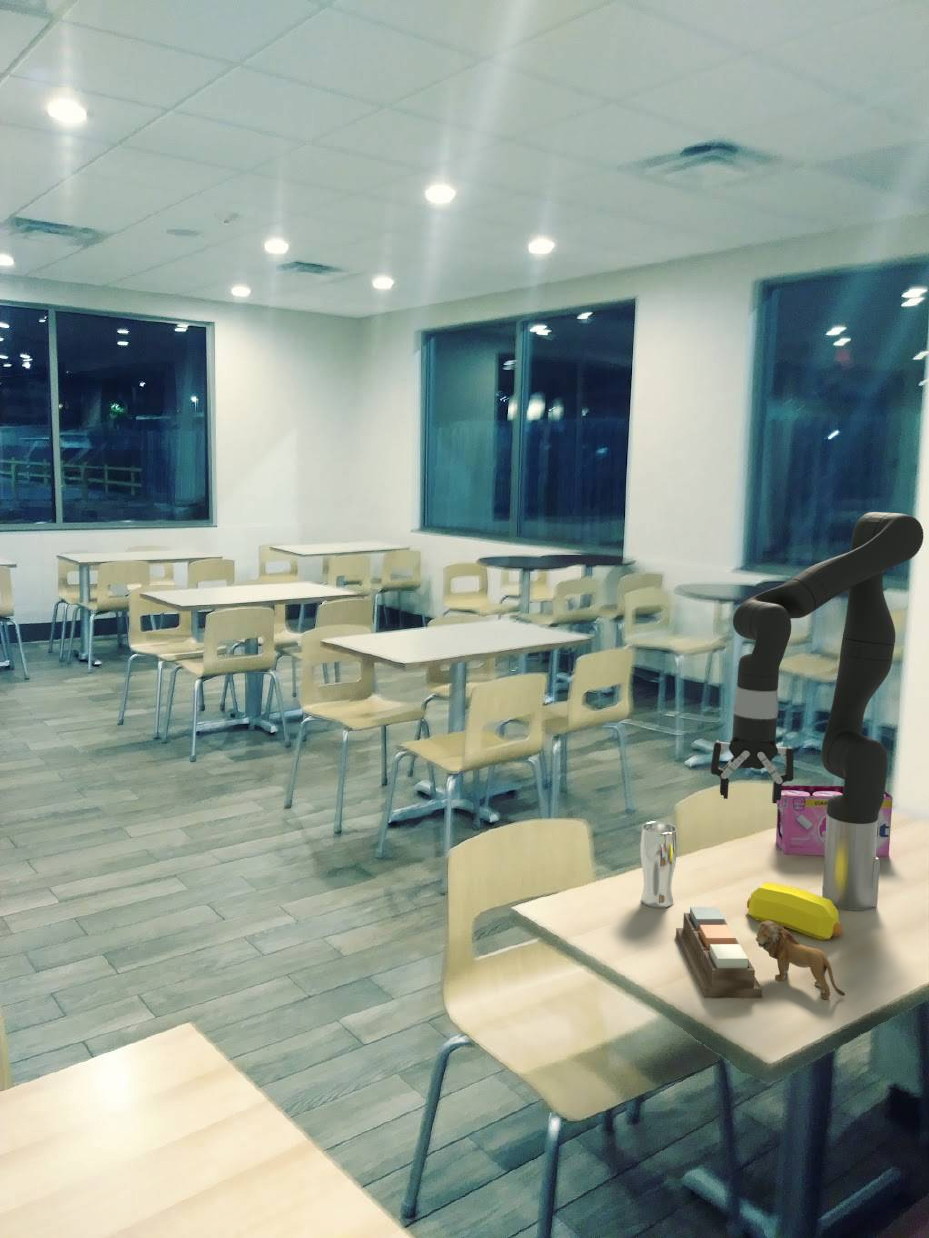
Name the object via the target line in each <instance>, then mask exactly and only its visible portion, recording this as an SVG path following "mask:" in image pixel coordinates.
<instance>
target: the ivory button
mask: <svg viewBox="0 0 929 1238" xmlns="http://www.w3.org/2000/svg"><path fill="white" fill-rule="evenodd" d="M710 958H711V960H712V962H713V964H714V966H715V968H748V960H749V958H748V956H747V955H746V953H745V951H744V949H743V948H742V946H741V944H740V943H739V944H710Z"/></svg>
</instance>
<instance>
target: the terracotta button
mask: <svg viewBox="0 0 929 1238" xmlns="http://www.w3.org/2000/svg"><path fill="white" fill-rule="evenodd" d="M734 934H735V933H733V931H732V930H731V928H730V926H729V924H728V925H700V930H699V937H700V939H701V941H702V943H703V945H704V946H705V947H710V944H735V941H736V939H737V937H736V936H735V935H734Z"/></svg>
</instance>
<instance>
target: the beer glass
mask: <svg viewBox="0 0 929 1238" xmlns="http://www.w3.org/2000/svg"><path fill="white" fill-rule="evenodd" d="M640 835H641V836H640V837H641V838H640V846H639V847H640V848H639V849H640V851H639V852H640V853H639V855H640V862H641V868H642V875H643V889H642V894H641V902H642V903H643V904H644V905H646V906H648V907H651V908H655V909H656V908H657V909H662V908H663V909H664V908H668V907H671V906H672V905H673V904H674V897H673V890H672V888H673V884H672V883H673V876H674V872H675V868H676V865H677V864H676V863H677V857H678V834H677V826H675V825H674V824H672V823H669V822H664V821H649V822H645V823H643V824H642V826H641V834H640Z"/></svg>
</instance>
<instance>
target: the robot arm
mask: <svg viewBox="0 0 929 1238" xmlns="http://www.w3.org/2000/svg"><path fill="white" fill-rule="evenodd" d="M851 537H852V538H851V544H850V545H851V546H850V551H849V552H846V553H842V554H840V555H838V556H834V557H832V558H829V559H825V560H824V561H821V562H818V563H816V564H814V565H811V566H809V567H808V568H806V569H804V570H802V571H801V572H799V573H798V574H796V575H795V576H793V577H792V578H790V579H788V580H786V582H784V583H783V584H782V585H778V586H776V587H773V588H770V589H767V590H765V591H763V592H760V593H759V594H756V595H753V596H752V597H750V598H747V599H746V600H745V601H743V602H742V603H741V604H740V605H739V606H738V607H737V609H736V610H735V611H734V614H733V616H732V625H733V629H734V630H735V632H736V634H738V635H739V636H740V637H743V638H745V639H747V640H751V641H754V646H753V649H752V653H746V654H743V655H741V657H740V658H739V661H738V668H737V680H736V682H737V683H736V690H735V695H734V696H735V697H734V703H733V722H732V735H731V740H730V742H727V741H726V742H724V741H721V740H720V739H715V740H714V741H713V748H712V756H711V764H710V772H711V775H713V776H715V775H716V776H718V777H719V778H720V779H719V780H720V782H719V794H720V796H723V799H724V800H728V798H729V797H728V795H729V783H730V779H729V776H730V775H731V774H732V773H733V772H735V771H736V770H737V768H739V767H742V768H743V769H751V768H752V769H754V770H755V769H756V770H762V769H764V768H765V769H766V770H767V772H768V773H769V775H770V776H771V777H772V778H773V780H772V791H771V792H772V793H771V794H772V795H771V803H772V804H776V805H777V800H778V801H780V799H781V791H782V785H784V783H786V782H792V781H793V780H794V754H795V753H794V752H795V751H794V750H793V747H792V746H791V745H786V746H777V743H776V741H777V727H778V725H777V724H778V715H779V694H778V693H779V692H778V688H779V678H780V665H781V663H782V661H783V658H784V656H785V653H786V649H787V646H788V644H789V640H790V638H791V635H792V619H802V618H804V617H806V616H808V615H810V614H811V613H813V612H815V611H816V610H818V609H819V608H820V607H823V605H825V604H827V603H828V602H830V601H831V600H832V599H834V598H835V597H837V596H839V595H841V594H842V593H844V592H846V591H847V590H848V595H847V604H846V614H845V623H844V627H843V631H842V639H841V646H840V652H839V653H840V654H839V663H838V671H837V676H836V681H835V686H834V687H835V688H834V692H833V700H832V703H831V704H832V705H831V709H830V713H829V716H828V720H827V725H826V728H825V732H824V736H823V740H822V745H821V749H820V750H821V751H820V756H821V758H820V759H821V762H822V765H823V768H824V769H825V771H827V772H828V773H829V774H831V775H833V776H835V777H838V778H840V779H842V780H844V783H843V786H844V789H843V795H836V796H832V797H831V798H829V800H828V802H827V815H826V834H825V853H824V855H823V856H824V858H823V870H822V871H823V877H822V886H821V887H822V888H821V889H822V892H821V893H822V895H821V897H823V898H826V899H829V900H831V902H832V903H833V904H834V906H835V907H836V908H838V909H842V910H846V911H864V910H865V911H866V910H868V909H870V908H873V907H874V908H877V907H878V899H879V881H880V869H881V868H880V867H881V866H880V865H881V861H880V858H879V856H876V844H877V826H878V814H879V810H880V808H881V806H882V804H883V801H884V795H885V791H886V783H887V776H888V767H889V761H888V753H887V749H886V748H885V746H884V745H883V743H881V741H879V740H877V739H874V738H872V737H869V736H866V735H864V734H862V732H863V731H862V729H863V722H864V717H865V713H866V708H867V707H868V704H869V702H870V700H871V698H872V697H873V696H874V694H875V693H876V692H877V690H879V688H880V686H881V685H882V684H883V683H884V681H885V680H886V678H887V677H888V675H889V673H890V670H891V667H892V664H893V657H894V650H895V643H896V629H895V625H894V621H893V617H892V615H891V612H890V610H889V607H888V604H887V601H886V599H885V594H884V586H883V585H884V583H883V582H884V572H885V571H887V570H889V569H893V568H894V567H897V566H899V565H902V564H904V563H906V562H908V561H910V560H911V559H913V558H914V557H915V556H916V555H917V554H918V553H919V551H920V550H921V548H922V545H923V542H924V538H925V537H924V529H923V527H922V524H921V522H920V521H919V520H918V519H917V518H916V517H914V516H912V515H910V514H905V513H898V512H881V511H880V512H878V511H873V512H871V511H870V512H867V513H864V514H863V515H862V516H861V517H860V518H859V519H858V521H857V522H856V523H855V526H854V528H853V531H852V536H851ZM726 750H729V751H730V753H731V755H732V757H731V759H730V760H729V761H728V762H727V764H726V765H725V766H724V767H723V768H722V767H720V766H719V765H720V757H721V755H723V754H725V752H726ZM778 754H780V756H781V757H780V758H781V759H782V760H784V772H782V773H781V772H779V771H778V769H777V768H776V766H775V764H774V763H773V761H772V760H773V759H774V758H775V757H776V756H777V755H778Z"/></svg>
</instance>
